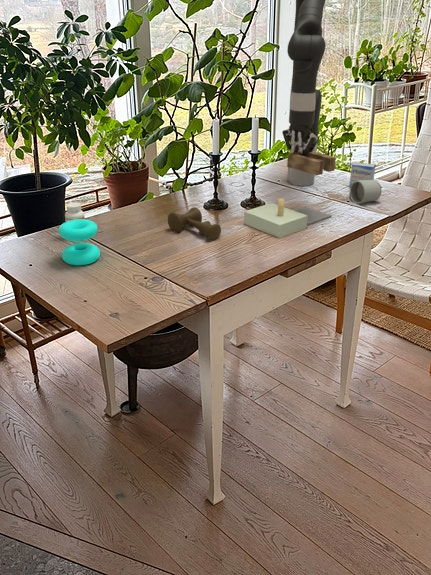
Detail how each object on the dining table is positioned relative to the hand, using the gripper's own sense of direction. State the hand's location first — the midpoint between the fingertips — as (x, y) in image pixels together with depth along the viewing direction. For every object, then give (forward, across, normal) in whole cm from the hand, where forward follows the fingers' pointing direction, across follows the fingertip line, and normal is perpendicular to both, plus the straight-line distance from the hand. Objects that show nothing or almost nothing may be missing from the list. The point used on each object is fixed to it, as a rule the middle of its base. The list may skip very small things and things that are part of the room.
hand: (298, 164), depth 182 cm
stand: (+16, +4, -14) cm, 21 cm away
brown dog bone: (+16, -9, -35) cm, 40 cm away
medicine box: (+16, -2, +38) cm, 41 cm away
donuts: (+16, -13, -70) cm, 73 cm away
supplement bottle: (+16, -28, -64) cm, 71 cm away
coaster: (+16, +5, 0) cm, 17 cm away
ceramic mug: (+16, +7, +26) cm, 31 cm away
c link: (0, +5, 0) cm, 5 cm away
